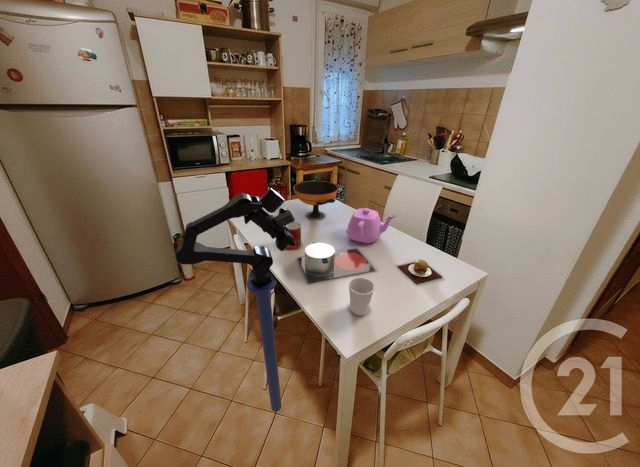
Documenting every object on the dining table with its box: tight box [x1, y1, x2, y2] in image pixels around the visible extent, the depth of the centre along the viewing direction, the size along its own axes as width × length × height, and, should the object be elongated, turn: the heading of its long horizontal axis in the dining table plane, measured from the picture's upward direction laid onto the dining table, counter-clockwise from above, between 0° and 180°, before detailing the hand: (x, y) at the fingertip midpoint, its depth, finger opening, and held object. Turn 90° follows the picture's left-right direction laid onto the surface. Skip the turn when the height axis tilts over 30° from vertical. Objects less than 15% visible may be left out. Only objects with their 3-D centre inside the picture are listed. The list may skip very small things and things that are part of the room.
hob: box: [297, 248, 376, 284], centre depth 111 cm, size 28×18×1 cm, turn 108°
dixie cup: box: [347, 277, 376, 316], centre depth 85 cm, size 8×8×10 cm
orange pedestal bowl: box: [292, 180, 339, 220], centre depth 151 cm, size 36×26×18 cm
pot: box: [304, 241, 336, 275], centre depth 107 cm, size 12×15×8 cm
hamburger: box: [397, 259, 443, 285], centre depth 105 cm, size 12×12×6 cm
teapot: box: [346, 207, 397, 244], centre depth 127 cm, size 23×21×15 cm
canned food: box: [285, 221, 302, 251], centre depth 122 cm, size 8×8×11 cm
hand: (294, 244), depth 101 cm, fingers closed
